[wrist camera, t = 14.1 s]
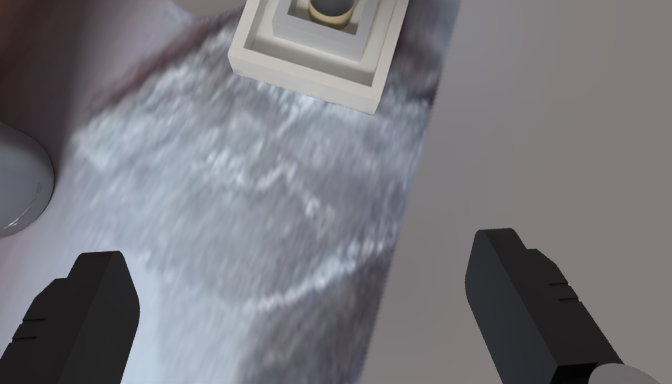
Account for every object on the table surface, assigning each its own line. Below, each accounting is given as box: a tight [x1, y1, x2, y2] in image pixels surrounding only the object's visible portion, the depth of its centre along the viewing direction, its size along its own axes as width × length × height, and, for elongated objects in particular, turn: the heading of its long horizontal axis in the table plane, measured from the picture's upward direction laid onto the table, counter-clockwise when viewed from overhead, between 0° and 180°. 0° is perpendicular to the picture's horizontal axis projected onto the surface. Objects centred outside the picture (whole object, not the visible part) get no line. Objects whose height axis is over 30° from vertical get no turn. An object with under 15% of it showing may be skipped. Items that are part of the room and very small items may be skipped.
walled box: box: [228, 0, 409, 116], centre depth 41 cm, size 13×16×4 cm
